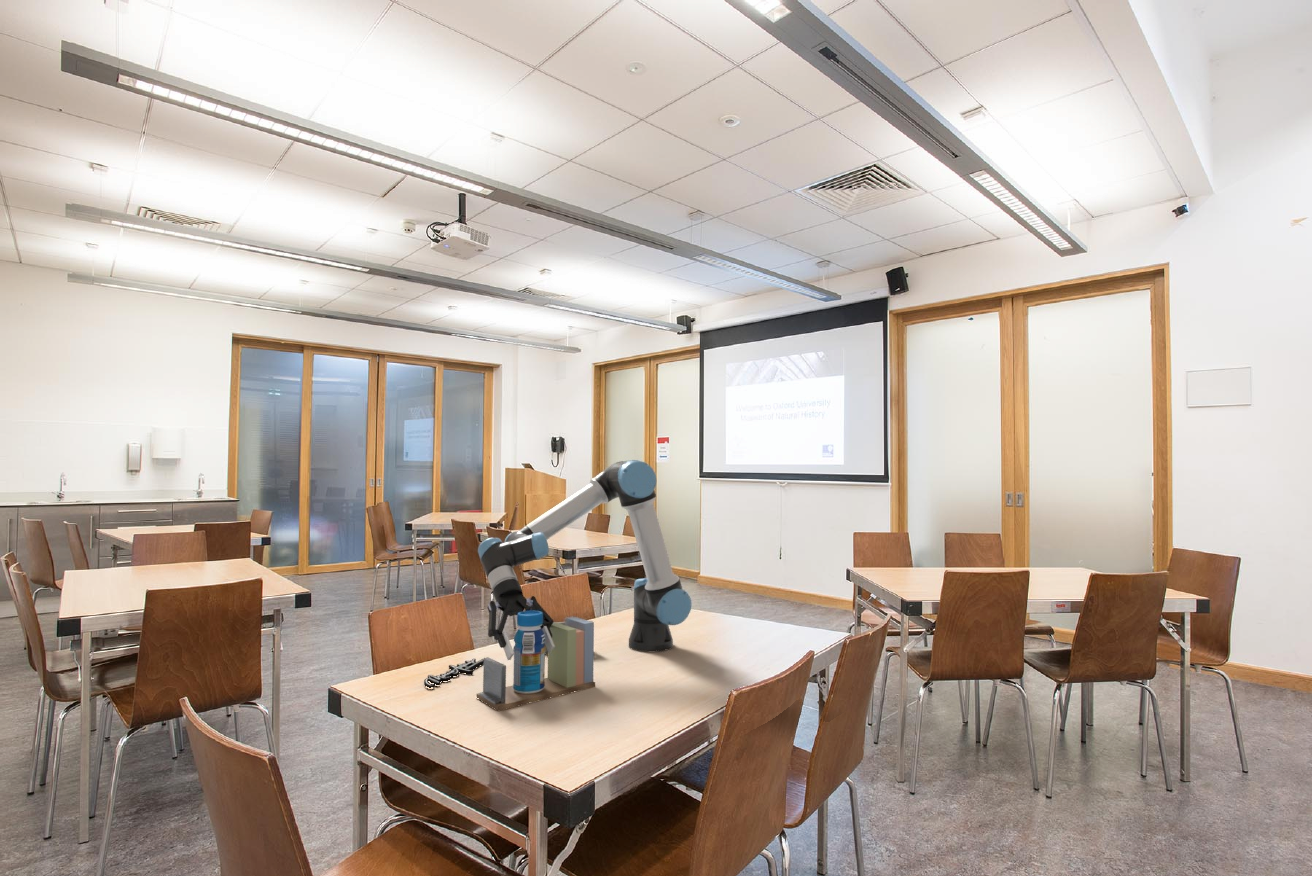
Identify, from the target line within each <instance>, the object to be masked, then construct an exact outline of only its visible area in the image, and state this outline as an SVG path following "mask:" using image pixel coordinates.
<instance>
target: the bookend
mask: <svg viewBox="0 0 1312 876" xmlns="http://www.w3.org/2000/svg"><path fill="white" fill-rule="evenodd" d="M483 659H484V664H483V676H482V677H483V679H482V680H483V681H482V683H483V684H482V693H481V692H478V693H479V695H480V696H482V697H483V698H485V699H487V700H488V701H490V702H492V703H494V704H499V703H500V704H502V703H505V697H506V687H507V685H506V684H507V665H505V664H504V663H500V662H499V661H497V660H495V659H493V658H490V657H489V656H487V657H483Z"/></svg>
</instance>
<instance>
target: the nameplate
mask: <svg viewBox="0 0 1312 876" xmlns="http://www.w3.org/2000/svg"><path fill="white" fill-rule="evenodd" d="M480 665H482V666H484V658H482V659H479V660H478V661H476V658H472V660H465V661H464V663H457V664H456V665H452V664H449V665H448V670H447V671H445V673H440V674H439V675H438V674H437V675H434V674H428V675H427V677H426V678H425V679H424V680H423V686H424V685H425V686H427V687H429V688H431V687H434V688H435V684H436V685H440V686H441V684H440V682H441V681H448V680H450V679H452V677H450V676H457V675H459V676H460V674H461V673H466V674H473V675H474V670H476V669H477V668H476V667H478V668H480V667H481V666H480ZM479 666H480V667H479ZM475 668H476V669H475ZM449 669H451V670H449ZM473 669H474V670H473ZM459 672H460V673H459ZM428 681H430V682H431V683H434V684H430V683H429V682H428ZM441 683H442V682H441Z"/></svg>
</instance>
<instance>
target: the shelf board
mask: <svg viewBox="0 0 1312 876" xmlns="http://www.w3.org/2000/svg"><path fill="white" fill-rule="evenodd" d="M544 682H545V687H544V689H543V690H542V691H540V692H537V693H533V694H520V693H517V692H515V691H514V690H513V685H510V686H506V697H505V703H502V704H500V703H499V704H494V703H492V702H490V701H488V700H487V699H485V698H483V697H482V696H480V695H479V693H482V692H483V691H482V692H477V693H476V697H477V698H479V699H480V700H482V701H483V702H485V703H487V704H488V705H490V706H491V707H490V706H489V707H490V708H492V707H493V708H492V709H494V708H495V709H496V710H495V709H494V710H495V711H497V710H500V711H504V710H507V709H506V708H508V709H511V707H512V708H516V707H519V706H518V705H520V706H524V705H528V704H530V703H529V702H532V703H536V702H539V701H538V700H540V701H544V700H548V699H551V698H550V697H552V698H556V697H560V696H559V695H561V696H563V695H562V694H565V695H568V693H569V694H572V693H571V692H573V693H575V692H574V691H577V692H580V691H584V690H588V689H589V690H590V689H592V688H595V687H596V682H595V681H593V682H589V683H585V684H580V685H576V686H572V687H568V688H566V687H564V686H562V685H560V684H558V683H555V682H553V681H551V680H549V679H548V677H544ZM477 698H476V699H477ZM547 698H548V699H547ZM480 700H479V701H480ZM482 701H481V702H482ZM535 701H536V702H535ZM483 702H482V703H483ZM485 703H484V704H485ZM527 703H528V704H527ZM487 704H486V705H487ZM515 706H516V707H515ZM503 709H504V710H503Z"/></svg>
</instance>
